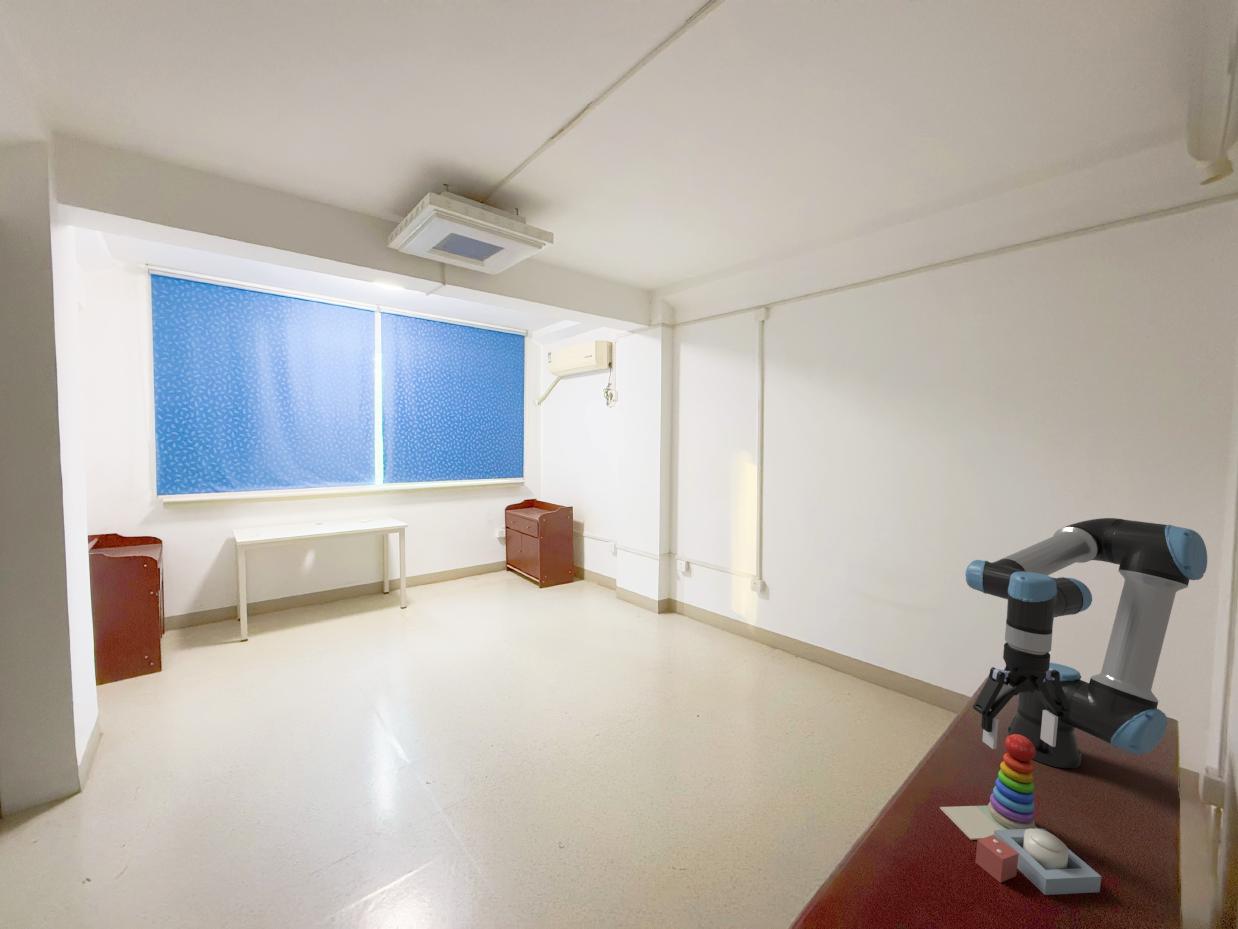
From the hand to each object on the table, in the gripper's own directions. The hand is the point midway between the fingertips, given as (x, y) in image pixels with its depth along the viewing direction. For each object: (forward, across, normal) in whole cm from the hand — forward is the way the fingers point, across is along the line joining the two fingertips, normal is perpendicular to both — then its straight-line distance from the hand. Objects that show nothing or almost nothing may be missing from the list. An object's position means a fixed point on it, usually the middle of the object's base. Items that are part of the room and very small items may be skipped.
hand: (1018, 744), depth 105 cm
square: (+17, +9, 0) cm, 19 cm away
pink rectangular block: (+17, +14, +11) cm, 25 cm away
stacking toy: (+17, +1, 0) cm, 17 cm away
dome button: (+16, +4, +11) cm, 20 cm away
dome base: (+17, +4, +11) cm, 21 cm away
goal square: (+17, +1, 0) cm, 17 cm away
